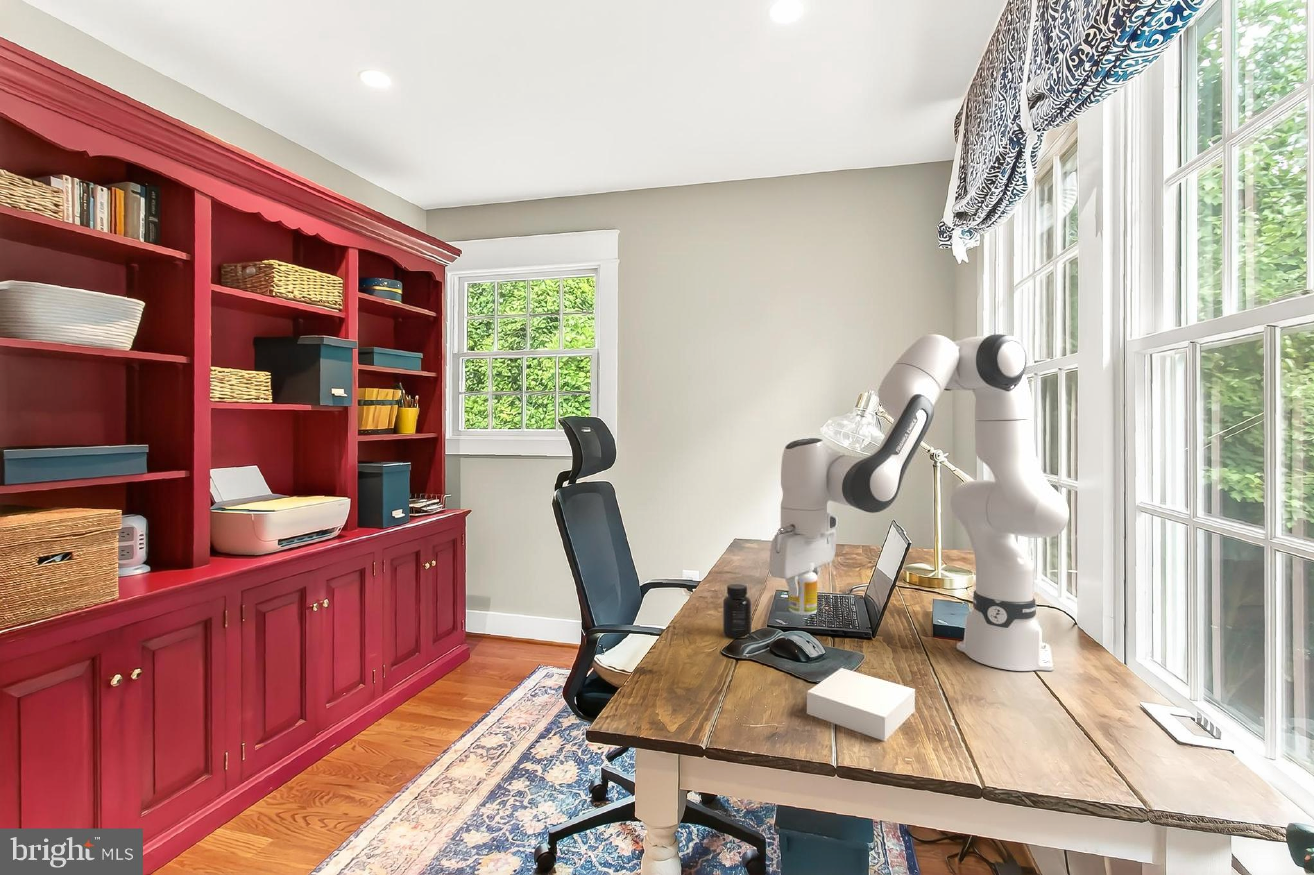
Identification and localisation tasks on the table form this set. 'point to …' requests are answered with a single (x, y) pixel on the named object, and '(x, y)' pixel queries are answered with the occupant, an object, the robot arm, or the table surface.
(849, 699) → the plinth
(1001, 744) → the table surface
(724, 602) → the supplement bottle
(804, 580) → the supplement bottle
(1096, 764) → the table surface
